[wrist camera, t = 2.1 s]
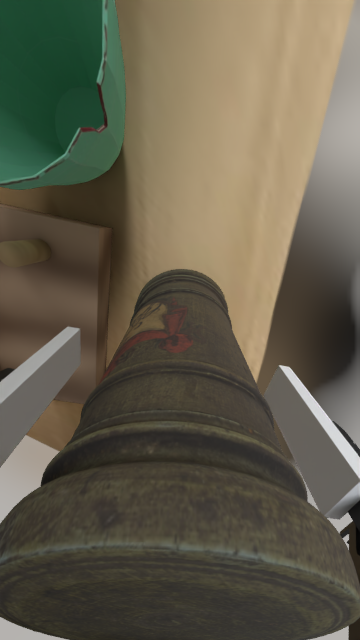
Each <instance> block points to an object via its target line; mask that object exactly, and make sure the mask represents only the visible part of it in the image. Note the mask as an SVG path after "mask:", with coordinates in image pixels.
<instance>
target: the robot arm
mask: <svg viewBox="0 0 360 640" xmlns="http://www.w3.org/2000/svg"><path fill="white" fill-rule="evenodd" d="M80 364H81V345H80V329H79V328H73V327H67V328H65V329H64V330H63V331H62V332H60V333H59V334H58V335H57V336H56V337H54V338H53V339H52V340H51V341H49V342H48V343H47V344H46V345H45V346H43V347H42V348H41V349H40V350H39V351H37V352H36V353H35V354H34V355H32V356H31V357H30V358H29V359H28V360H26V361H25V362H24V363H23V364H21V365H20V366H19V367H18V368H17V369H12V368H6V369H4V370H2V371H0V467H1V466H2V464H3V463H4V462H5V461H6V459H7V458H8V457H9V455H10V454H11V453H12V451H13V450H14V449H15V448H16V446H17V445H18V444H19V443H20V441H21V440H22V439H23V437H24V436H25V435H26V434H27V432H28V431H29V430H30V428H31V427H32V426H33V425H34V423H35V422H36V421H37V419H38V418H39V417H40V416H41V414H42V413H43V412H44V410H45V409H46V408H47V407H48V405H49V404H50V403H51V401H52V400H53V399H54V398H55V396H56V395H57V394H58V392H59V391H60V390H61V389H62V387H63V386H64V385H65V383H66V382H67V381H68V380H69V378H70V377H71V376H72V374H73V373H74V372H75V371H76V369H77V368H78V367H79V365H80ZM264 398H265V400H266V401H267V403H268V404H269V406H270V409H271V412H272V414H273V416H274V418H275V420H276V422H277V424H278V426H279V428H280V430H281V433H282V435H283V436H284V439H285V441H286V443H287V445H288V447H289V449H290V451H291V453H292V455H293V457H294V459H295V461H296V463H297V466H298V467H299V470H300V472H301V474H302V476H303V478H304V480H305V482H306V484H307V486H308V488H309V490H310V492H311V494H312V496H313V498H314V501H315V503H316V505H317V507H318V509H319V511H320V512H321V513H322V514H323V515H324V516H325V517H326V518H333V519H340V518H342V517H343V516H344V515H345V514H346V513H347V512H348V513H349V515H350V516H351V518H352V520H353V521H352V522H351V523H350V524H349V525H348V526H347V527H345V528H344V529H343V530H342V531H341V532H340V536H341V537H342V538H343V537H345V536H346V535H347V534H349V540H348V541H347V543H348V544H349V552H350V555H351V557H352V560H353V563H354V566H355V569H356V573H357V576H358V580H359V584H360V449H359V448H358V447H357V445H356V444H354V443H353V441H352V440H351V438H350V437H349V436H348V434H347V433H346V432H345V431H344V430H343V429H342V428H341V427H340V426H339V425H337V424H336V423H335V422H334V421H331V420H330V418H329V417H328V416H327V415H326V413H325V412H324V411H323V409H322V408H321V407H320V406H319V404H318V403H317V402H316V400H315V399H314V398H313V397H312V396H311V394H310V393H309V391H308V390H307V389H306V388H305V386H304V385H303V384H302V383H301V381H300V380H299V379H298V377H297V376H296V375H295V374H294V372H293V371H292V370H291V368H290V367H286V366H280V365H279V366H278V368H277V370H276V372H275V374H274V376H273V378H272V379H271V381H270V384H269V385H268V387H267V389H266V391H265V393H264ZM349 640H360V618H359V619H358V620H356V621H355V622H354V623H352V624H350V625H349Z"/></svg>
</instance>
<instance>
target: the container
mask: <svg viewBox="0 0 360 640" xmlns="http://www.w3.org/2000/svg"><path fill="white" fill-rule="evenodd" d="M0 617H2V618H4V619H6V620H8V621H10V622H12V623H14V624H17V625H19V626H22V627H25V628H27V629H30V630H33V631H36V632H41V633H44V634H47V635H51V636H55V637H60V638H64V639H69V640H307V639H313V638H317V637H320V636H324V635H327V634H331V633H333V632H336V631H338V630H341V629H343V628H345V627H347V626H349V625H350V624H352V623H354V622H355V621H356V620H358V619H359V618H360V584H359V580H358V576H357V573H356V569H355V566H354V563H353V560H352V557H351V555H350V552H349V550H348V548H347V546H346V544H345V542H344V540H343V539H342V537H341V536H340V534H339V533H338V531H337V530H336V528H335V527H334V526H333V525H332V524H331V522H330V521H329V520H328V519H327V518H326V517H325V516H324V515H323V514H322V513H321V512H320V511H318V510H317V509H316V508H315V507H314V506H312V505H311V504H310V503H308V502H307V491H306V487H305V484H304V482H303V479H302V477H301V476H300V474H299V473H298V471H297V470H296V468H295V467H294V466H293V465H292V464H291V463H290V462H289V460H288V458H287V457H286V456H285V454H284V453H283V452H282V450H281V447H280V445H279V442H278V439H277V437H276V435H275V432H274V423H273V415H272V412H271V409H270V406H269V404H268V403H267V401H266V400H265V398H264V397H263V396H262V395H261V393H260V391H259V389H258V387H257V384H256V382H255V380H254V378H253V376H252V373H251V371H250V369H249V367H248V365H247V362H246V360H245V358H244V356H243V354H242V352H241V349H240V347H239V345H238V343H237V340H236V338H235V336H234V334H233V331H232V325H231V320H230V317H229V315H228V307H227V303H226V301H225V297H224V295H223V292H222V291H221V289H220V287H219V286H218V285H217V284H216V283H215V282H214V281H213V280H212V279H210V278H209V277H207V276H206V275H204V274H202V273H199V272H197V271H193V270H186V269H177V270H171V271H167V272H164V273H162V274H159V275H158V276H156V277H154V278H153V279H152V280H150V281H149V282H148V283H147V284H146V285H145V287H144V288H143V289H142V291H141V293H140V295H139V297H138V301H137V303H136V306H135V309H134V314H133V316H132V319H131V322H130V327H129V329H128V331H127V332H126V334H125V336H124V338H123V340H122V342H121V343H120V345H119V347H118V349H117V351H116V353H115V355H114V356H113V359H112V361H111V363H110V364H109V366H108V368H107V370H106V371H105V373H104V375H103V377H102V379H101V381H100V382H99V384H98V386H97V387H96V388H95V389H94V390H93V391H92V392H91V394H90V395H89V396H88V398H87V400H86V402H85V404H84V406H83V409H82V413H81V420H80V424H79V426H78V427H77V429H76V431H75V433H74V435H73V437H72V439H71V440H70V441H69V443H68V444H67V445H66V446H65V447H64V449H63V450H61V451H60V452H59V453H58V454H57V455H56V456H55V457H54V458H53V459H52V461H51V462H50V463H49V464H48V466H47V468H46V469H45V472H44V474H43V477H42V481H41V487H39V488H38V489H36V490H34V491H33V492H31V493H30V494H29V495H27V496H26V497H24V498H23V499H22V500H21V501H20V502H19V503H18V504H17V505H16V506H15V507H14V508H13V509H12V510H11V511H10V513H9V514H8V515H7V516H6V518H5V519H4V520H3V521H2V522H1V524H0Z"/></svg>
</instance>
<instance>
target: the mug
mask: <svg viewBox="0 0 360 640" xmlns="http://www.w3.org/2000/svg"><path fill="white" fill-rule="evenodd" d="M125 103H126V90H125V70H124V62H123V56H122V49H121V42H120V35H119V26H118V17H117V12H116V6H115V0H0V187H4V188H9V189H17V190H24V189H31V188H37V187H43V186H48V185H72V184H78V183H83V182H88V181H90V180H92V179H95V178H97V177H99V176H100V175H102V174H103V173H105V172H106V171H108V170H109V169H110V168H111V166H112V165H113V163H114V162H115V160H116V159H117V157H118V156H119V154H120V150H121V147H122V144H123V140H124V126H125Z"/></svg>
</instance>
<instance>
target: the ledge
mask: <svg viewBox="0 0 360 640" xmlns="http://www.w3.org/2000/svg"><path fill="white" fill-rule="evenodd" d="M112 230H113V228H109V227H104V226H100V225H95V224H91V223H86V222H82V221H77V220H73V219H68V218H63V217H59V216H54V215H50V214H45V213H41V212H36V211H32V210H27V209H23V208H18V207H13V206H9V205H4V204H0V371H2V370H4V369H6V368H12V369H17V368H18V367H19V366H20V365H21V364H23V363H24V362H25V361H26V360H28V359H29V358H30V357H31V356H32V355H34V354H35V353H36V352H37V351H39V350H40V349H41V348H42V347H43V346H45V345H46V344H47V343H48V342H49V341H51V340H52V339H53V338H54V337H56V336H57V335H58V334H59V333H60V332H62V331H63V330H64V329H65V328H67V327H73V328H79V329H80V345H81V364H80V365H79V367H78V368H77V369H76V371H75V372H74V373H73V374H72V376H71V377H70V378H69V380H68V381H67V382H66V383H65V385H64V386H63V387H62V389H61V390H60V391H59V392H58V394H57V395H56V396H55V398H54V400H60V401H66V402H73V403H79V404H85V402H86V400H87V398H88V396H89V395H90V394H91V392H92V391H93V390H94V389H95V388H96V387H97V386H98V384H99V382H100V381H101V379H102V377H103V375H104V373H105V371H106V351H107V331H108V310H109V290H110V270H111V250H112Z"/></svg>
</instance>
